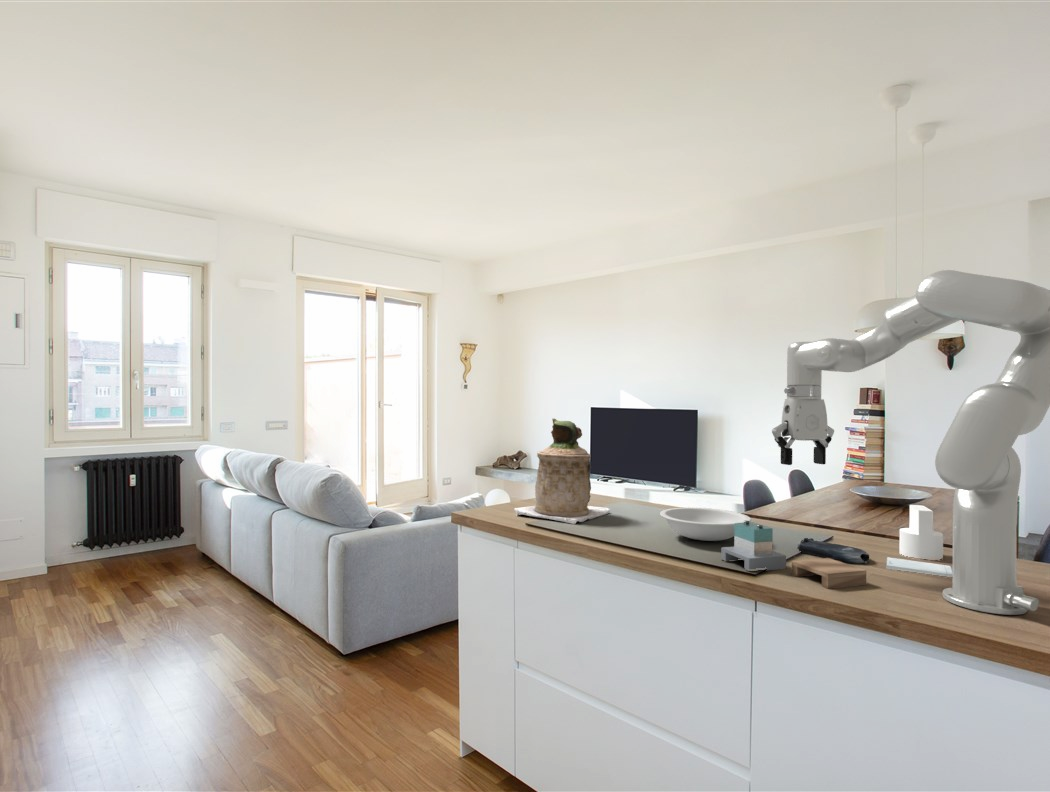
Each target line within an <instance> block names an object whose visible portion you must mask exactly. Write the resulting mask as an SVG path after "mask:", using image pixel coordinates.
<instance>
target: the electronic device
mask: <svg viewBox="0 0 1050 792" xmlns="http://www.w3.org/2000/svg"><path fill="white" fill-rule="evenodd" d="M796 549H797V550H798V552H800V551H801V552H802V553H803V554H808V555H811V556H812V555H813V556H818V557H821V558H830V559H833V560H836V561H839V562H842V563H845V564H853V565H854V564H855V565H856V564H857V565H858V564H867V563H868V562H869V561H870V554H869V553H867V551H865V550H863V549H860V548H857V547H853V546H848V545H843V544H838V543H831V542H825V541H818V540H814V538H811V537H810V538H808V537H804V538H803V539H801V540H800V541H798V543H797V548H796ZM801 552H800V553H801ZM802 553H801V554H802Z"/></svg>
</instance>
